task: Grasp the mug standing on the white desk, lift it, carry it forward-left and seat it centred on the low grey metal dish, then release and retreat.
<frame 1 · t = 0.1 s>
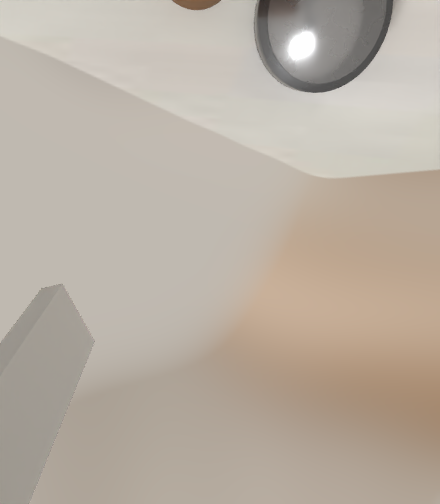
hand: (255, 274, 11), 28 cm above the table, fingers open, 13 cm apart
grey metal dish: (316, 21, 31), on the table
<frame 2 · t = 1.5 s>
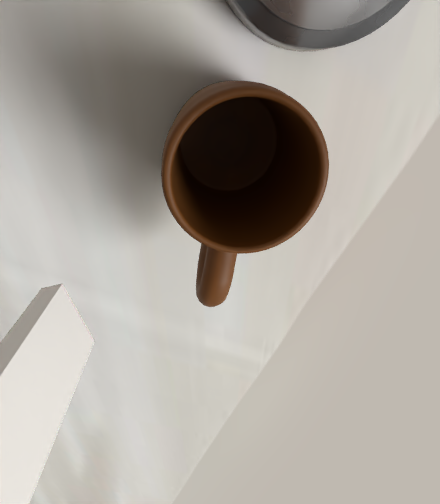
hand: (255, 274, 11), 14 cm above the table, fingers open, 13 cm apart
mug: (221, 173, 23), on the table
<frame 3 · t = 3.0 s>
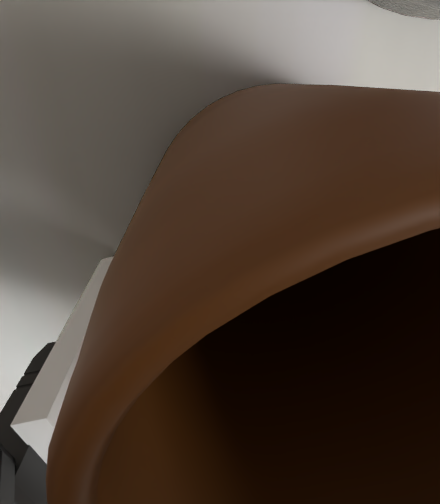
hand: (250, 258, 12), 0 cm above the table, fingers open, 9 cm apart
mug: (247, 253, 13), on the table, touching gripper
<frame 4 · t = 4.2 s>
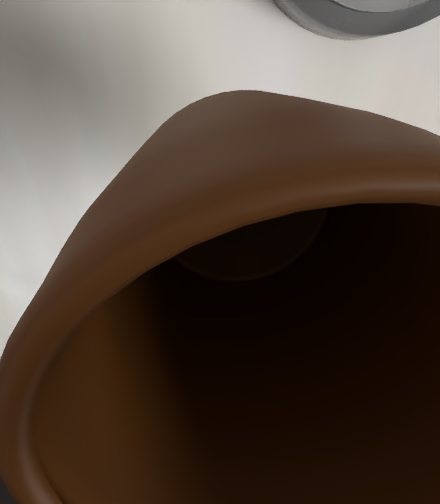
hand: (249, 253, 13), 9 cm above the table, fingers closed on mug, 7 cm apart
mug: (225, 250, 13), point 8 cm above the table, touching gripper
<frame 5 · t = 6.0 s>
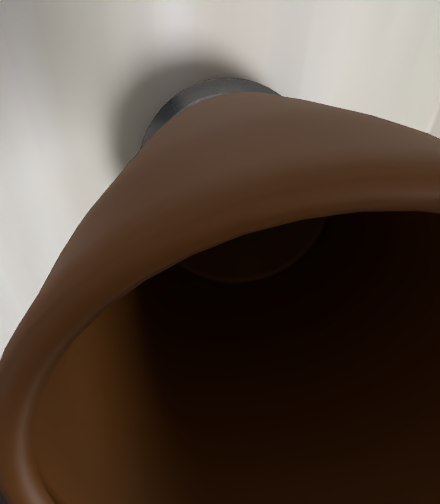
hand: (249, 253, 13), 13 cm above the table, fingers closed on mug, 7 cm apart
mug: (225, 252, 13), point 13 cm above the table, touching gripper
grey metal dish: (225, 168, 24), on the table
when the fingers open (4 cm above the table, at t = 8.4 s): mug stays where it is, resting on grey metal dish.
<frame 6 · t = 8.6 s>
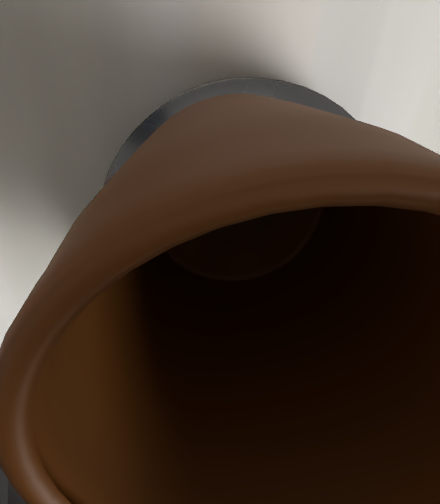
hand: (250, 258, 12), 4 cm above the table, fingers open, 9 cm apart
mug: (222, 250, 13), point 3 cm above the table, touching grey metal dish
grey metal dish: (239, 217, 16), on the table
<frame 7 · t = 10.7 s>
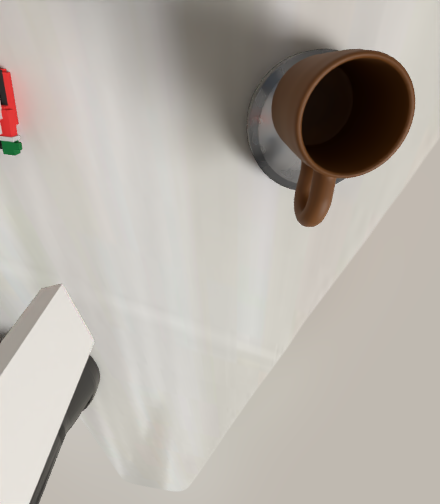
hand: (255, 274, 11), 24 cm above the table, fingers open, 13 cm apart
mug: (304, 131, 29), point 3 cm above the table, touching grey metal dish
grey metal dish: (308, 123, 32), on the table
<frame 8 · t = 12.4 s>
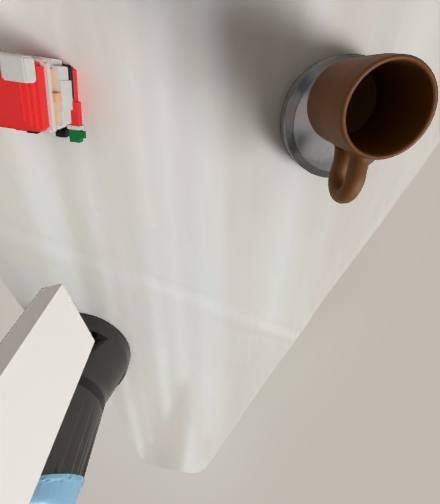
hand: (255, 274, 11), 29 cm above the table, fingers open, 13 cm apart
mug: (333, 124, 34), point 3 cm above the table, touching grey metal dish
figurine: (52, 96, 34), on the table
grey metal dish: (333, 118, 36), on the table
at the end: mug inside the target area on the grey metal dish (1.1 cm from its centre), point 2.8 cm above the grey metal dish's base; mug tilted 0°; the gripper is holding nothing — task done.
